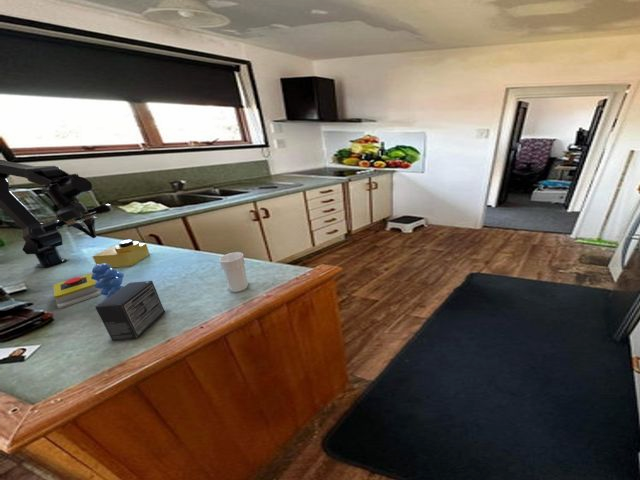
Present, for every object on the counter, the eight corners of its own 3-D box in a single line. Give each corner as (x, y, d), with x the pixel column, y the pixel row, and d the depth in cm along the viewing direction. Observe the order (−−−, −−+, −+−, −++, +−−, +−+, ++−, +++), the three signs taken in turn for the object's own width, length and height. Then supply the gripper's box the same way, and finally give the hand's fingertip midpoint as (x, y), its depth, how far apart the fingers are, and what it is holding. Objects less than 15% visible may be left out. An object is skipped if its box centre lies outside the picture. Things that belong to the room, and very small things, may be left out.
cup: (254, 283, 89) (248, 253, 85) (238, 294, 83) (230, 263, 79) (239, 280, 91) (232, 251, 87) (222, 291, 85) (213, 260, 82)
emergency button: (91, 268, 94) (96, 282, 85) (96, 279, 95) (101, 294, 86) (50, 279, 87) (51, 296, 78) (56, 291, 89) (57, 309, 80)
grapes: (142, 292, 86) (129, 259, 82) (117, 305, 80) (101, 269, 76) (119, 286, 90) (105, 254, 86) (93, 298, 84) (77, 264, 80)
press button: (117, 248, 104) (115, 244, 104) (125, 244, 108) (124, 240, 107) (128, 247, 104) (126, 243, 104) (136, 243, 108) (134, 239, 108)
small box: (142, 313, 76) (128, 281, 73) (166, 311, 77) (154, 279, 73) (109, 341, 66) (92, 306, 63) (137, 339, 67) (122, 303, 63)
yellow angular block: (97, 268, 103) (90, 252, 101) (119, 256, 112) (113, 241, 110) (132, 266, 104) (125, 249, 102) (151, 254, 113) (145, 239, 111)
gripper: (18, 211, 87) (52, 253, 92) (92, 189, 96) (120, 228, 101) (35, 210, 96) (65, 248, 101) (101, 190, 106) (126, 226, 110)
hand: (94, 237), depth 103 cm, fingers closed
